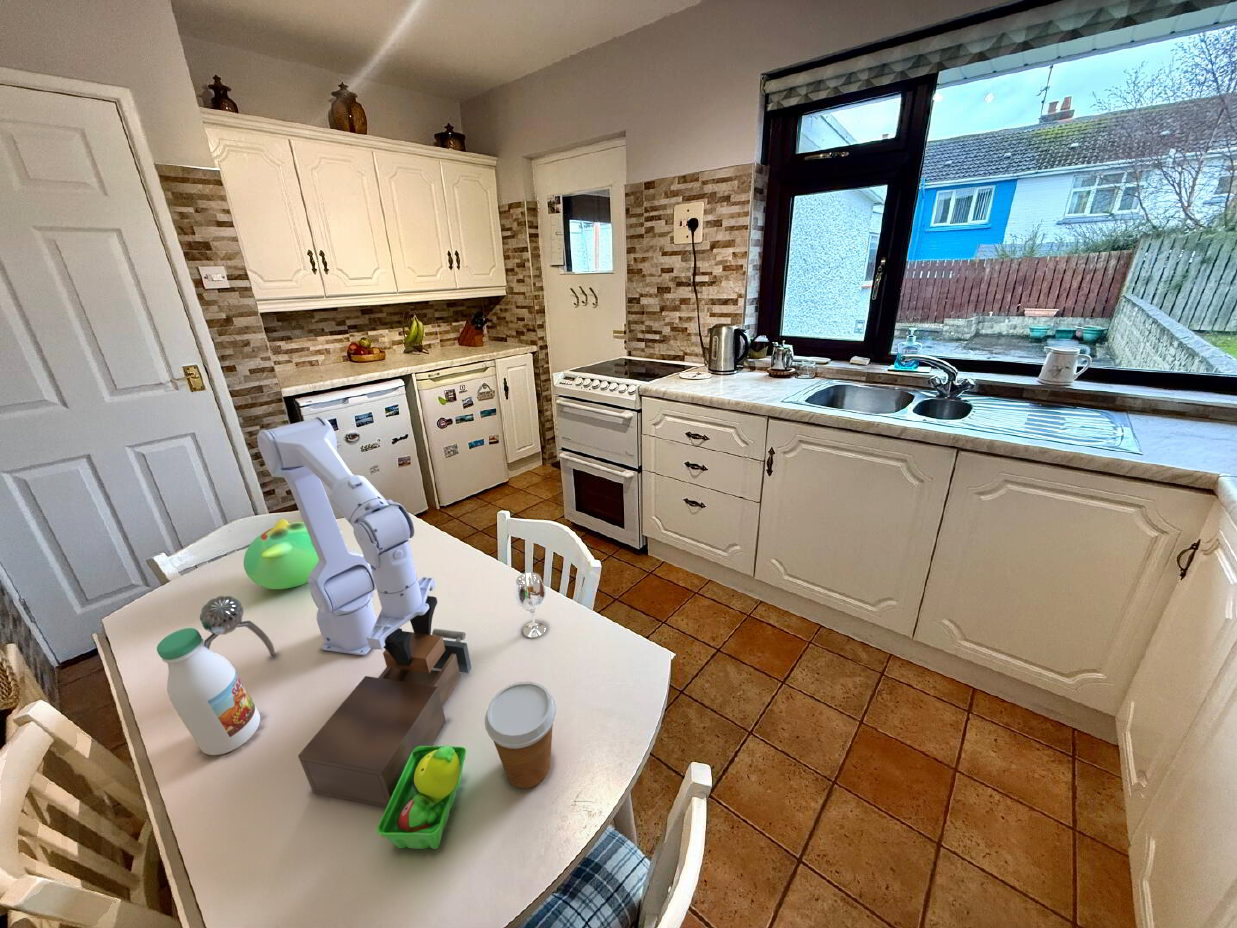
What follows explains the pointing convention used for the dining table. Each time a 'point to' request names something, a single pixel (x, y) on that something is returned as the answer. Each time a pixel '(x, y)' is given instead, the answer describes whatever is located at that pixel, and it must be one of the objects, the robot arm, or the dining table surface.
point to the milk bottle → (207, 693)
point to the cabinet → (372, 740)
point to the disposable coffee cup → (522, 731)
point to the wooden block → (420, 653)
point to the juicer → (228, 620)
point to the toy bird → (281, 556)
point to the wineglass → (530, 600)
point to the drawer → (439, 666)
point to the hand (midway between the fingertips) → (414, 651)
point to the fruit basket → (423, 797)
